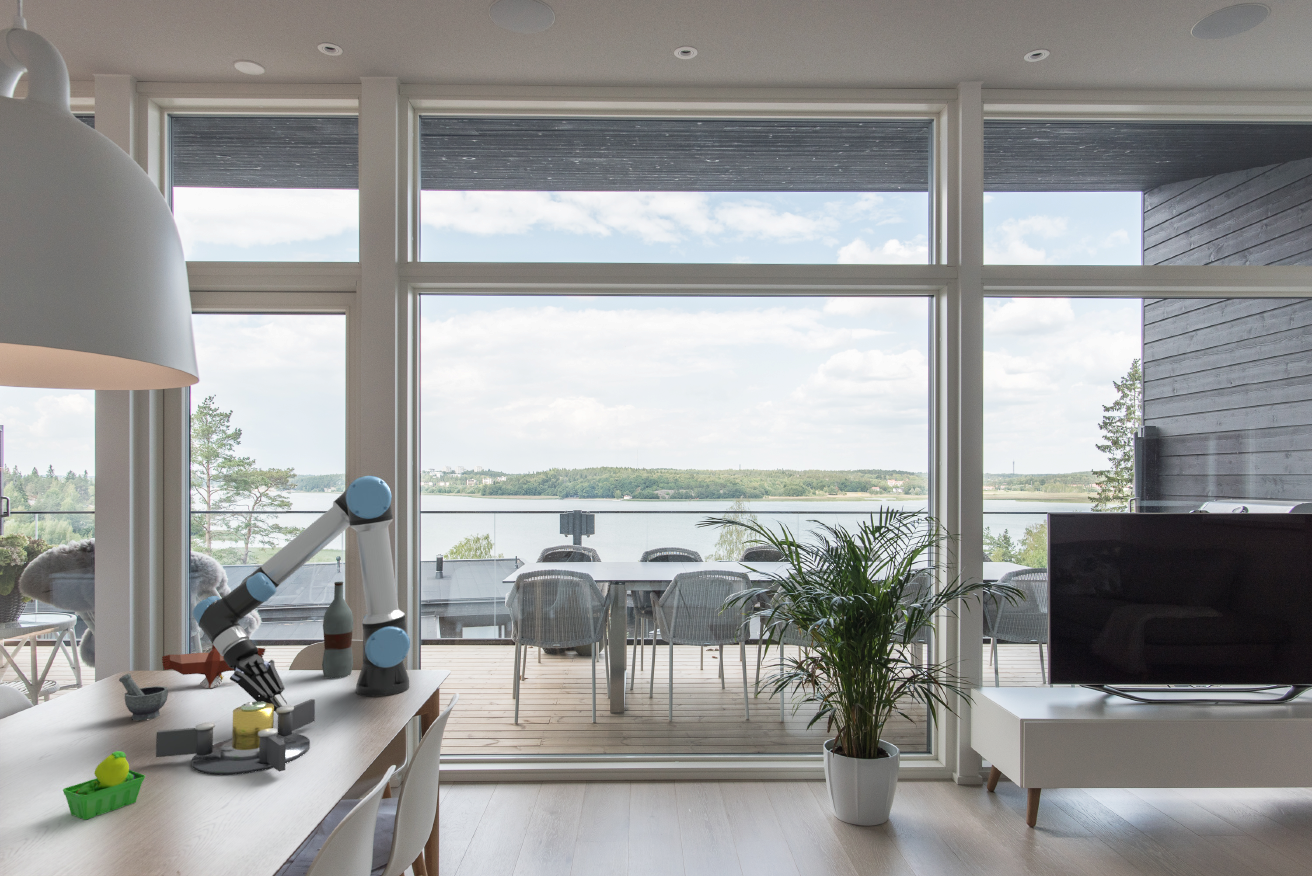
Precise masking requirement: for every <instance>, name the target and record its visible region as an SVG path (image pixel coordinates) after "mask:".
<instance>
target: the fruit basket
mask: <svg viewBox="0 0 1312 876" xmlns="http://www.w3.org/2000/svg"><path fill="white" fill-rule="evenodd" d="M126 757H127V755H126V753H125V752H124V751H120V750H117V751H114V752H111V754H109V755H108V756H107V757H106V758H104V759H103V760H102V761H101V762H100V763H98V765H97V766H96V767H95V769H94V773H93V774H94V776H95V777H96V778H93V779H90V780H87V781H83V782H80V783H77V784H75V785H70V786H68V787H64V788H63V789H62V791H63V795H64V796H65V799H66V802H67V804H68V805H67V806H68V808H69V812H70V815H71V816H75V817H76V818H78V819H83V820H84V821H85V820H90V819H92V818H95V817H97V816H101V815H103V814H106V813H109V812H111V811H115V810H118V809H121V808H123V807H126V806H129V805H132V804H134V803H136V802H137V799H138V796H139V794H140V790H141V787H142V784H143V782H144V780H145V778H146V774H142V773H139V772H136V771H134V770H130V765H129V762H128V761H127V759H126Z"/></svg>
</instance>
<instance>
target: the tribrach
mask: <svg viewBox="0 0 1312 876" xmlns="http://www.w3.org/2000/svg"><path fill="white" fill-rule="evenodd" d="M274 715H275V711H274V705H273V704H271V703H266V702H264V701H259V702H257V701H252V702H251V701H249V702H246V703H243V704H242V705H241V706H237V707H235V708H234V709H233V710H232V736H231V737H232V738H229V739H226V740H223V741H219V742H217V743H213V752H212V753H211V754H208V755H202V756H198V755H196V754H194V756H193V757H192V759H191V767H192V769H193V770H194V771H196V772H198V773H201V774H205V775H214V776H220V775H221V776H230V775H233V776H234V775H243V774H249V772H250V773H256V772H261V771H265V769H266V770H268V769H269V768H270V769H273V768H274V767H273V766H271V765H270V764H269V763H268V762H267V763H261V762H259V741H260V736H258V732H259V731H261V730H264V729H269V728H274V727H275V726H274V718H275V717H274ZM276 737H277V738H278V739H279V740H281V741H282V742H284V743H285V744H286V755H285V763H286V764H288V763H291V762H292V761H295V760H297V759H299V758H301V757H302V756H304V755H305V754H307V752H309V750H310V746H311V743H310V742H311V741H310V738H309V737H307V736H305V735H304V734H299V733H295V732H292V734H291V735H288V736H281V735H278V731H277V734H276ZM303 754H304V755H303ZM300 756H301V757H300ZM290 761H291V762H290ZM287 762H288V763H287ZM270 769H269V770H270ZM255 771H256V772H255ZM242 773H243V774H242Z"/></svg>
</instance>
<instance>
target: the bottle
mask: <svg viewBox="0 0 1312 876" xmlns="http://www.w3.org/2000/svg"><path fill="white" fill-rule="evenodd" d="M333 584H334V592H333V594H334V596H333V600H332V601H331V603H330V604H329V607H328V608H326V611H325V612H324V615H323V620H322V631H323V644H324V645H323V646H324V647H323V648H324V651H323V655H322V662H321V663H322V664H321V666H322V673H323V677H324V678H325V679H341V678H346V677H349V676H351V675H352V672H353V666H354V658H353V657H354V656H353V649H352V642H353V641H352V640H353V639H352V638H353V631H354V629H353V628H354V615H353V611H352V609H351V608H350V606H349V605H348V603H347V602H346V600H345V599H344V581H335V582H334V583H333ZM348 675H349V676H348ZM340 677H341V678H340Z"/></svg>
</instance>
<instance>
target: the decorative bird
mask: <svg viewBox="0 0 1312 876" xmlns="http://www.w3.org/2000/svg"><path fill="white" fill-rule="evenodd" d="M257 648H258V655H259V656H260V657H262V658H263V657H264V655H265V653H266V648H265V647H264V648H262V647H257ZM223 657H224V656H221V654H220V653H219V652H218V650H217V649H216V648H215V646H214V645H213V644H212V646H211V650H210V651H209V652H193V653H185V654H183V653H181V654H166V655H163V656H161V663H162V667H163V670H164V671H168V670H173V671H175V672H177V673H179V674H180V675H183V676H184V675H203V676H205V677H204V678H203V680H202V681H200V684H199V685H201V686H202V687H203V688H205V689H206V690H207V689H209V688H210V689H213V688H215V687H216V686H217V687H218V686H219V685H220V684H221V683H222V682H223V681H222V680H223V679H224V678H225V675H222V673H227V672H231V671H232V672H235V671H234V669H232V668H230V667H229V666H228V664H227V663H226V662H225V660H224V659H223Z"/></svg>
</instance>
